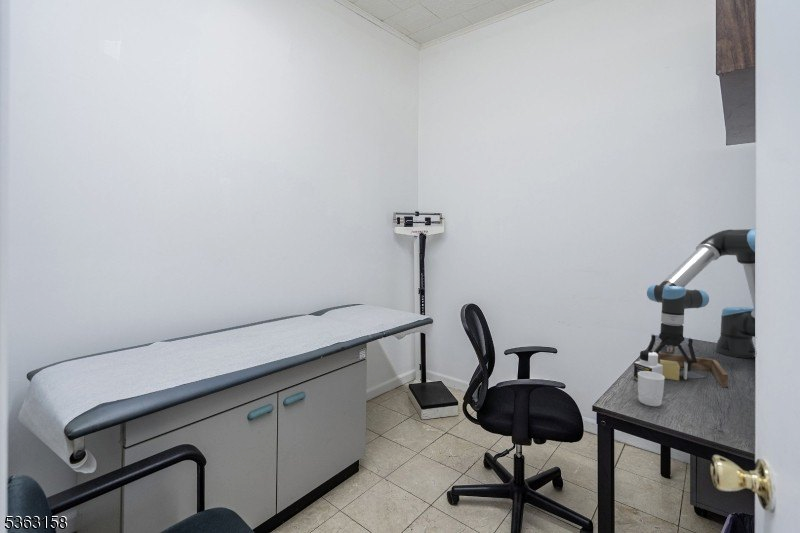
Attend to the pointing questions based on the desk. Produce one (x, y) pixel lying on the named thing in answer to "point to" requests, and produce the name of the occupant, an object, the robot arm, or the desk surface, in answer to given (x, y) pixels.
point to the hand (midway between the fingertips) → (669, 375)
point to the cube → (670, 369)
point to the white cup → (650, 388)
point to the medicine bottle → (647, 363)
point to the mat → (692, 375)
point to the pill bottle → (668, 349)
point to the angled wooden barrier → (699, 366)
